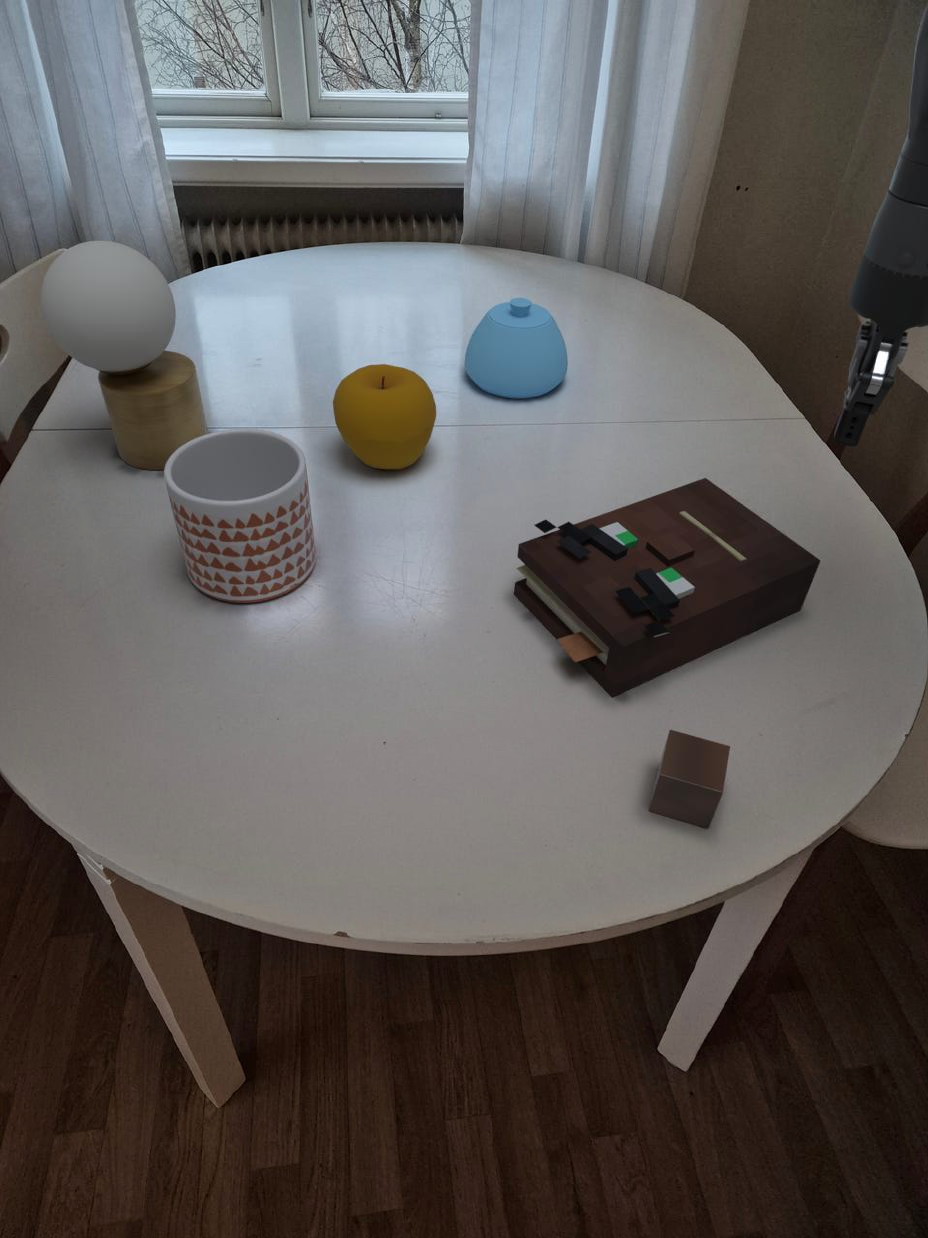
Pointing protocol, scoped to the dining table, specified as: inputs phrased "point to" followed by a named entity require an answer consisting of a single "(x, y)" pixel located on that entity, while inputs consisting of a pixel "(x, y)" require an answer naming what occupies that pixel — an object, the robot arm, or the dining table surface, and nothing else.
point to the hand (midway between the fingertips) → (844, 441)
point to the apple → (385, 415)
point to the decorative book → (661, 582)
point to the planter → (242, 513)
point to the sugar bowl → (517, 351)
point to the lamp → (126, 346)
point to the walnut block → (690, 779)
